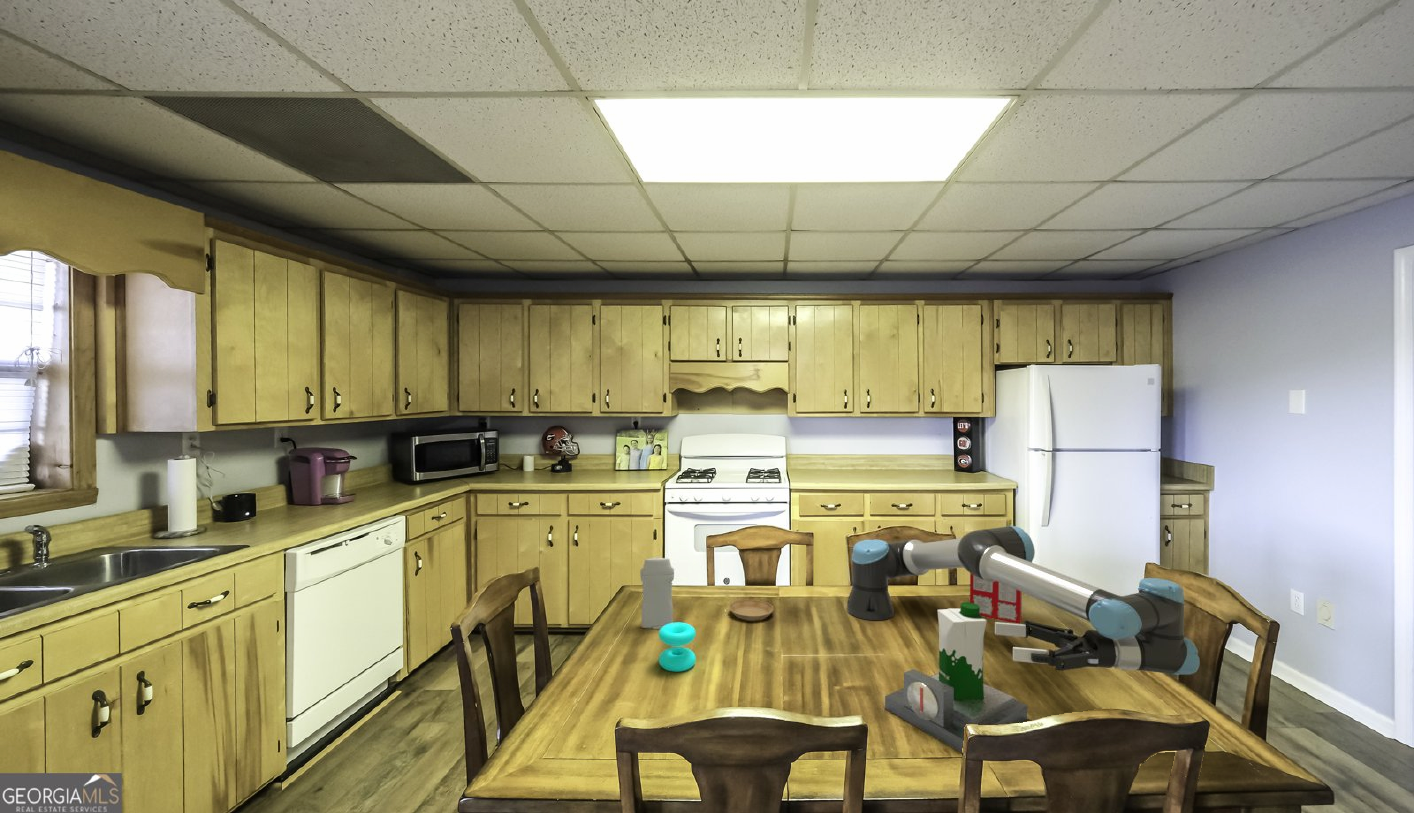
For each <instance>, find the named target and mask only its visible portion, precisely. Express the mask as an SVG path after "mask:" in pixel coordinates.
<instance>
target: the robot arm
mask: <svg viewBox="0 0 1414 813" xmlns="http://www.w3.org/2000/svg"><path fill="white" fill-rule="evenodd" d="M1035 552H1036V551H1035V545H1034V543H1033V540H1032V538H1031V537H1030V535H1029V533H1027V532H1026V531H1025V530H1024V529H1023V528H1021V527H1018V526H1015V525H1013V526H1012V525H1006V526H1003V527H1002V526H1001V527H995V528H987V529H978V530H973V531H970V532H967V533H966V534H965V535H963V536H962V537H961V538H960V537H959V538H954V539H953V538H952V539H944V540H936V541H931V542H928V541H927V542H923V541H921V540H919V539H905V540H902V541H900V540H899V541H895V542H893V541H892V542H887V541H885V540H882V539H877V538H876V539H875V538H874V539H864V540H860V541H858V542H856V543H855V544H854V545H853V548H852V555H851V561H852V564H851V565H852V570H851V571H852V573H851V574H852V575H851V576H852V579H851V580H852V581H851V582H852V585H851V590H850V593H849V596H848V599H847V602H846V611H847V612H848V614H850V615H852V616H853V617H856V618H859V619H864V620H869V621H885V620H888V619H891V618H893V617H894V605H893V603H892V600H891V596H890V593H889V580H892V579H896V578H903V577H904V578H905V577H913V576H914V577H915V576H923V575H926V574H927V573H928V572H929V571H934V570H945V569H946V570H948V569H962V568H963V569H965V570H966V571H967V572H968V573H971V574H973V575H975V576H977V577H979V578H981V579H983V580H985V581H988V582H995V581H998V582H1000V583H1002V584H1005V585H1007V586H1009V587H1012V588H1014V589H1016V590H1018V591H1021V592H1022V593H1023V594H1025V595H1027V596H1030V597H1032V598H1035V599H1037V600H1039V601H1042V602H1044V603H1046V604H1048V605H1051V606H1052V607H1055V608H1057V609H1060V610H1062V611H1065V612H1066V613H1069V614H1071V615H1073V616H1076V617H1078V618H1080V619H1083V620H1085V621H1087V622H1090V624H1091V626H1092V627H1093V628H1094V629H1088V630H1085V632H1084V634H1083V636H1080V635H1077V634H1074V629H1072V628H1062V627H1056V626H1053V625H1048V624H1045V623H1039V622H1035V621H1030V620H1025V621H1024V624H1023V623H1020V624H1018V623H1013V622H998V621H995V622H994V634H995V635H996V636H1007V637H1020V638H1024V639H1027V638H1028V637H1031V638H1034V639H1036V640H1040V641H1044V642H1046V643H1050V644H1053V645H1054V646H1055V647H1056V648H1058V649H1055V650H1053V649H1049V648H1048V650H1047V649H1043V648H1042V649H1041V648H1040V649H1039V648H1029V647H1017V646H1013V647H1012V660H1013V662H1022V663H1032V664H1033V663H1035V664H1044V665H1045V664H1046V665H1048V666H1051V667H1055V670H1056V671H1060V672H1061V671H1062V672H1063V671H1068V670H1075V669H1082V668H1106V669H1112V668H1114V669H1119V670H1121V671H1123V672H1126V671H1128V670H1131V671H1142V672H1151V673H1153V672H1154V673H1159V674H1160V673H1161V674H1168V675H1182V676H1183V675H1193V674H1195V673H1196V672H1198V670H1199V667H1200V657H1199V650H1198V648H1197V646H1196V645H1195V643H1194V641H1192V640H1191V639H1189V638H1188V637H1185V636H1184V629H1185V628H1184V624H1185V623H1184V620H1185V605H1186V603H1185V597H1184V596H1185V595H1184V589H1183V587H1182V586H1181V585H1179V584H1178V583H1177V582H1174V581H1171V580H1167V579H1163V578H1156V577H1144V578H1142V579H1141V580H1140V581H1139V585H1138V587H1137V590H1138V592H1137V593H1136V592H1135V593H1131V594H1126V595H1118V594H1115V593H1113V592H1110V591H1108V590H1105V589H1102V588H1099V587H1097V586H1095V585H1091V584H1089V583H1086V582H1084V581H1081V580H1078V579H1076V578H1074V577H1071V576H1068V575H1065V574H1063V573H1060V572H1058V571H1055V570H1052V569H1049V568H1048V567H1044V566H1042V565H1039V564H1037V563H1034V562H1033V560H1034V558H1035Z"/></svg>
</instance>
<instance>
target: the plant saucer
mask: <svg viewBox="0 0 1414 813" xmlns="http://www.w3.org/2000/svg"><path fill="white" fill-rule="evenodd" d="M728 608H729V610H730V612H731V613H732V614H733V615H734V616H735V617H736V618H737V619H740V620H742V621H747V622H748V621H749V622H757V621H762V620H765V619H766V618H768V617H769V616H770V615H771V614H772V613H773V611H774V606H773V605H771V603H769V602H765V601H762V600H758V599H741V600H736V601H732V602H731V603H730V604H729V605H728Z"/></svg>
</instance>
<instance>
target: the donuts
mask: <svg viewBox="0 0 1414 813" xmlns="http://www.w3.org/2000/svg"><path fill="white" fill-rule="evenodd" d="M658 638H659V640H660V641H661V642H662V643H663V644H666V645H668V646H671V647H669V648H666V649H664V650H663V651H662V652H661V653H660V654H659V657H658V663H659V665H660V666H661V668H663V669H664V670H666V671H670V672H675V673H676V672H679V673H680V672H684V671H687V670H689V669H691V668H693V666H694V665H695V664H696V660H697V659H696V655H695V652H693V651H692V650H691V649H690V648H688V647H684V646H686V645H688V644H690V643H692V642H693V641H694V639H695V638H696V629H695V627H694V626H692V625H691V624H689V623H686V622H676V621H675V622H673V623H670V624H667V625H664V626H663V627H662V628H661V629H659V632H658Z"/></svg>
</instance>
